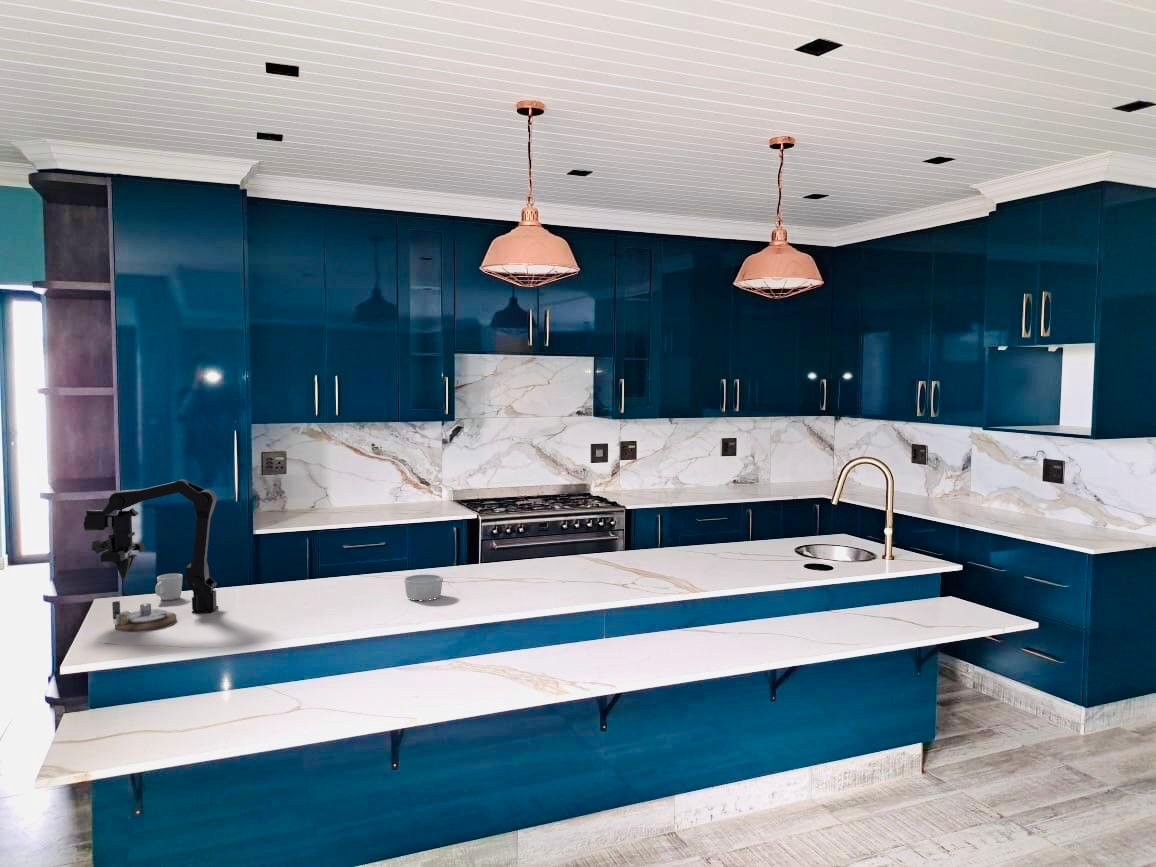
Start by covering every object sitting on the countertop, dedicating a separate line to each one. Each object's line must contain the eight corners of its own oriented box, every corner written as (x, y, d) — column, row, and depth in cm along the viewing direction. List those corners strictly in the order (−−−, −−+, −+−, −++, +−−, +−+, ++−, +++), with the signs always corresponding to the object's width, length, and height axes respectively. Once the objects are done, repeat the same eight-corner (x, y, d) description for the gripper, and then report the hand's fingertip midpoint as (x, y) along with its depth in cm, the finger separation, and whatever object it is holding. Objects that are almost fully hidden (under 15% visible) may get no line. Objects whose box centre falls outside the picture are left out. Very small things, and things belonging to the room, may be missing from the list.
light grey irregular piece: (157, 610, 269) (156, 590, 269) (174, 617, 262) (173, 595, 261) (105, 621, 257) (104, 599, 257) (121, 628, 250) (120, 605, 249)
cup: (167, 604, 284) (166, 580, 284) (146, 603, 286) (145, 579, 285) (188, 596, 295) (187, 574, 294) (168, 595, 296) (167, 573, 296)
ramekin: (437, 591, 301) (437, 572, 301) (447, 600, 289) (447, 580, 289) (400, 595, 295) (400, 576, 295) (409, 604, 283) (409, 584, 283)
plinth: (184, 615, 270) (184, 601, 270) (163, 630, 253) (163, 615, 253) (129, 616, 269) (129, 603, 268) (104, 632, 252) (104, 617, 251)
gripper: (109, 525, 278) (111, 572, 279) (81, 535, 259) (83, 585, 260) (144, 525, 279) (145, 571, 280) (118, 535, 260) (120, 584, 261)
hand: (123, 578), depth 270 cm, fingers closed
